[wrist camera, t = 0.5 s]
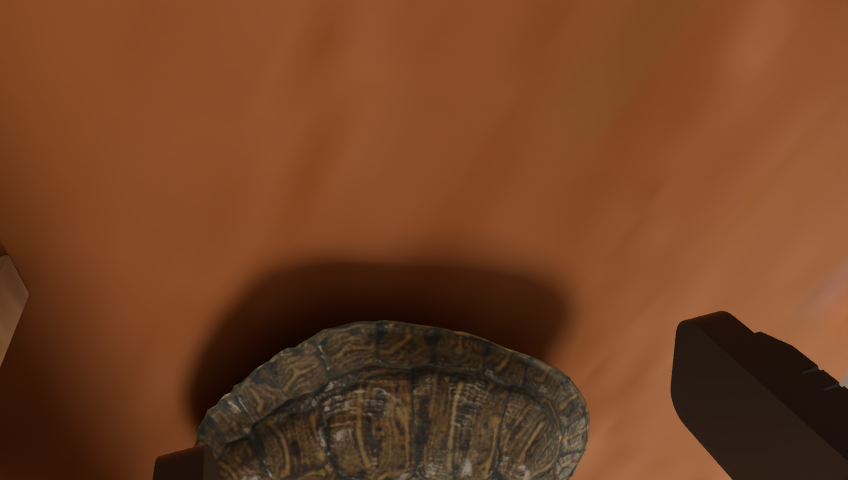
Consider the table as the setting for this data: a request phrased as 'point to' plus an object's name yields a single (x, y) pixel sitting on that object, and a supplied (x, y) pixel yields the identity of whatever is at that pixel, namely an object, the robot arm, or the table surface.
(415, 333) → the turtle shell
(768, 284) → the table surface
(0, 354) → the oak overhang
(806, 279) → the table surface
